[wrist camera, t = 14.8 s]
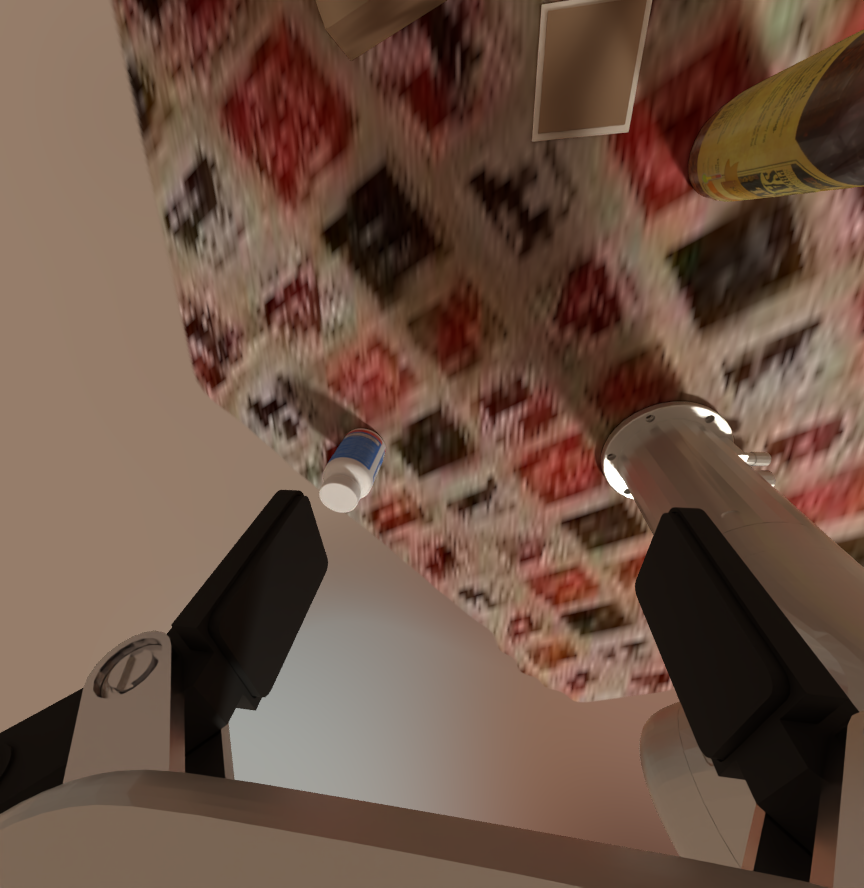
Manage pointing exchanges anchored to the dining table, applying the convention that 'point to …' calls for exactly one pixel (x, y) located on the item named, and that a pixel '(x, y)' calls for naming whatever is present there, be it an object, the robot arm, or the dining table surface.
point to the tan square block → (369, 20)
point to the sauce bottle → (788, 131)
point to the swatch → (588, 67)
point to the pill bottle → (352, 470)
